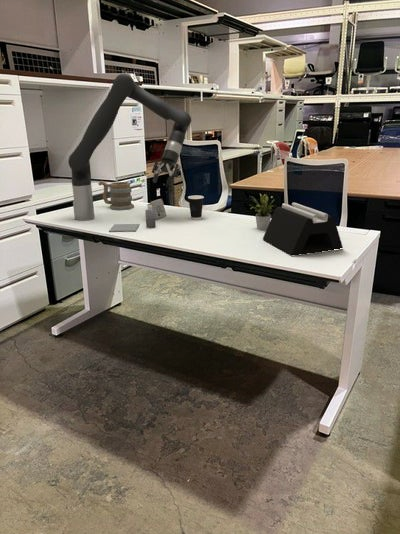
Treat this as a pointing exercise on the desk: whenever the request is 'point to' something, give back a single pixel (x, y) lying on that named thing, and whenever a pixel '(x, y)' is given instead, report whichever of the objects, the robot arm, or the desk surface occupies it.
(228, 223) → the desk surface
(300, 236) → the device stand
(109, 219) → the desk surface
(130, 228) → the mat
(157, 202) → the electrical switch
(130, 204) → the tankard
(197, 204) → the dixie cup
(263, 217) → the house plant
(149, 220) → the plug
